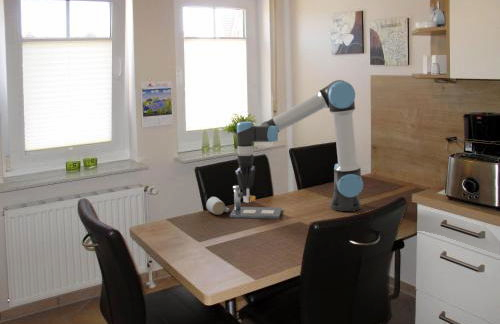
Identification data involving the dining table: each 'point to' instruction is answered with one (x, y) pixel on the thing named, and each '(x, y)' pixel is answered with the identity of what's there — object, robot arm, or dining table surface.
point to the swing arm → (251, 198)
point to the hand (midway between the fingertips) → (246, 201)
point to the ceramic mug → (216, 206)
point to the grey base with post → (252, 209)
